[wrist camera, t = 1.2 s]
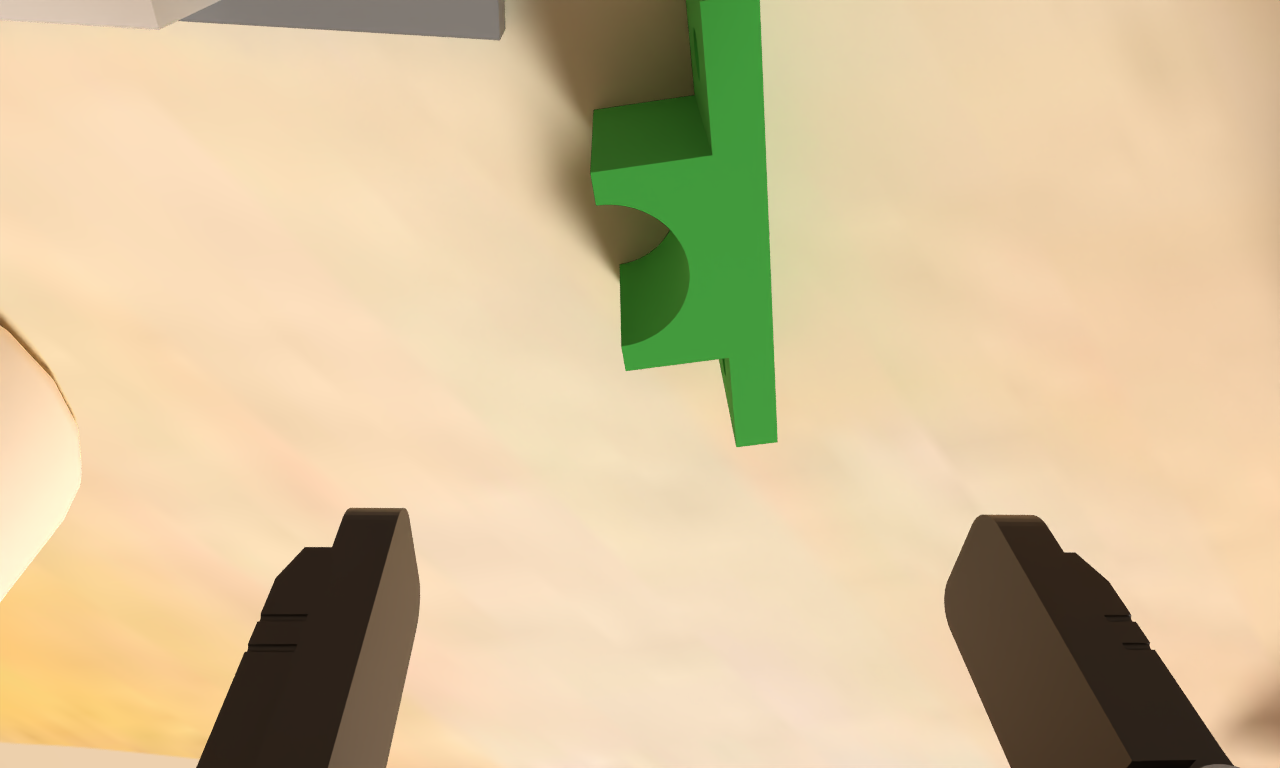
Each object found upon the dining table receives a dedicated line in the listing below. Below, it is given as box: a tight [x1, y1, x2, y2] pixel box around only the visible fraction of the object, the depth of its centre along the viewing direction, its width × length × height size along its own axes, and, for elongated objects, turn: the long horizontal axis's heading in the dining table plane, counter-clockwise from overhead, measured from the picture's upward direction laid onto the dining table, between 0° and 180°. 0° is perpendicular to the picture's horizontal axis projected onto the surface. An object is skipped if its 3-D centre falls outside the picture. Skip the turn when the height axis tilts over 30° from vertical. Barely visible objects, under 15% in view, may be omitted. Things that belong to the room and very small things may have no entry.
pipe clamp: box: [590, 0, 777, 447], centre depth 20 cm, size 11×4×5 cm, turn 8°
